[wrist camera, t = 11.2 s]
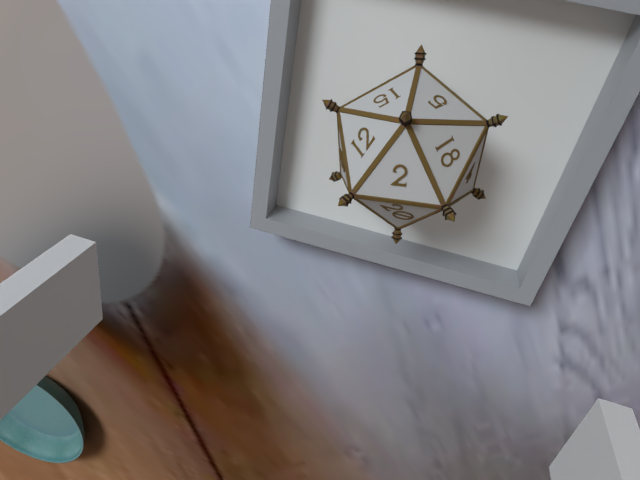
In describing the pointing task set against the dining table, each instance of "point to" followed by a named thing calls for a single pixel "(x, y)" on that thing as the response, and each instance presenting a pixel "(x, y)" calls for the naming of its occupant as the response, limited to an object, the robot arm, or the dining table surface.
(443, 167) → the game die
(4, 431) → the saucer
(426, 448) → the dining table surface
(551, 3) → the tray
